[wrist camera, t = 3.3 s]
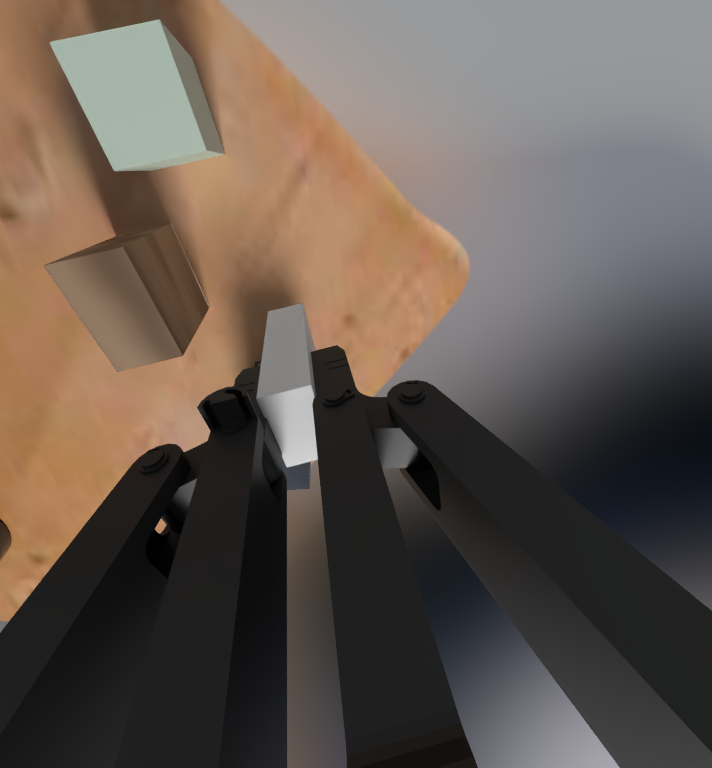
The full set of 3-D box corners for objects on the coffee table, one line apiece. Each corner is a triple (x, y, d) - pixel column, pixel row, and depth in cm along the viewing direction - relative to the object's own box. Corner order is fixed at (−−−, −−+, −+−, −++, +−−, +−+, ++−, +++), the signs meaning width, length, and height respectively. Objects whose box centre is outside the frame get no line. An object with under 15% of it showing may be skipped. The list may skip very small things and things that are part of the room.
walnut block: (161, 318, 35) (117, 372, 25) (116, 236, 30) (42, 265, 21) (209, 306, 35) (182, 355, 26) (171, 223, 30) (122, 246, 21)
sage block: (154, 170, 28) (114, 171, 22) (112, 75, 25) (49, 42, 18) (224, 154, 28) (206, 150, 22) (192, 58, 25) (159, 19, 18)
